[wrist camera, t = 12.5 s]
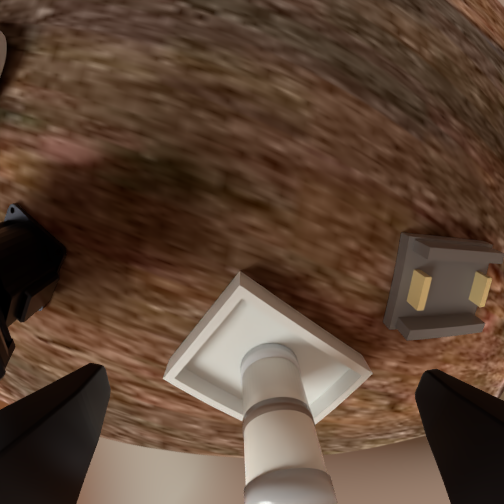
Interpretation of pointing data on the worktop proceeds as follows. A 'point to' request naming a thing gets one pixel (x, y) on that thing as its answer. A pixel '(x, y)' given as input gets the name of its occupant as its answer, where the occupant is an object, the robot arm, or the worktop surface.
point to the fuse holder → (439, 286)
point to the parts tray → (254, 334)
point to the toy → (2, 51)
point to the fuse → (280, 432)
